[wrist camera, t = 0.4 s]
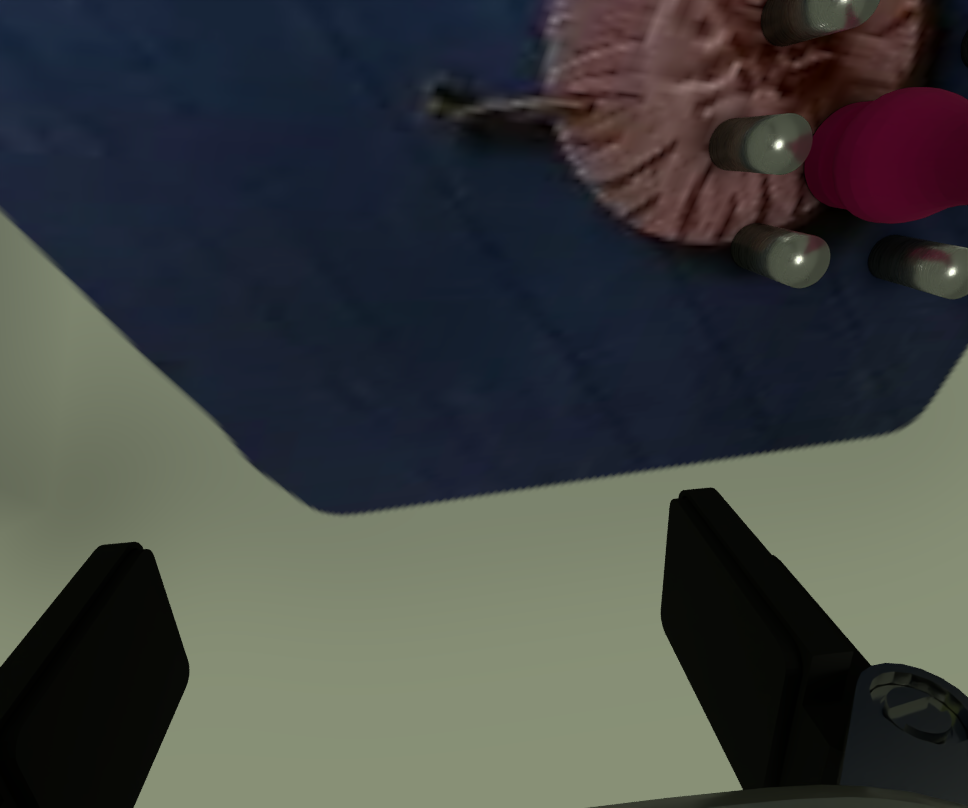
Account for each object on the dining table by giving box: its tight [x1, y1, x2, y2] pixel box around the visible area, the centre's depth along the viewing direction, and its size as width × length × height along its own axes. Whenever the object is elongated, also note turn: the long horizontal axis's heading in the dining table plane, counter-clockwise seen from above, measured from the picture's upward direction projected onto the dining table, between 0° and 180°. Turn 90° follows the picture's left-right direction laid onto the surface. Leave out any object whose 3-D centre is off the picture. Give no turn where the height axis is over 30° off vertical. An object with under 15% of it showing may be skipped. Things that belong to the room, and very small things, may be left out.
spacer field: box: [709, 0, 968, 299], centre depth 36 cm, size 16×19×6 cm
